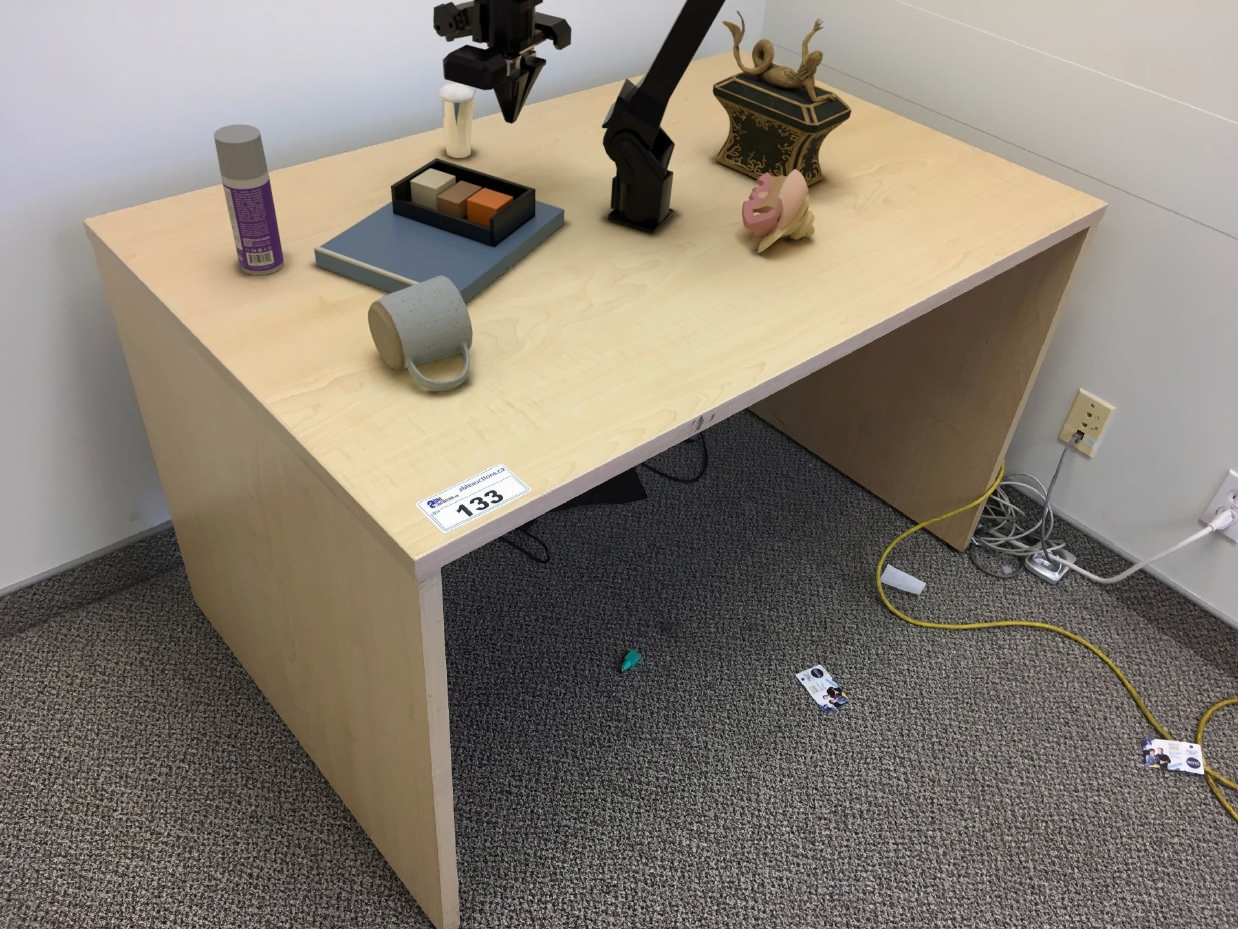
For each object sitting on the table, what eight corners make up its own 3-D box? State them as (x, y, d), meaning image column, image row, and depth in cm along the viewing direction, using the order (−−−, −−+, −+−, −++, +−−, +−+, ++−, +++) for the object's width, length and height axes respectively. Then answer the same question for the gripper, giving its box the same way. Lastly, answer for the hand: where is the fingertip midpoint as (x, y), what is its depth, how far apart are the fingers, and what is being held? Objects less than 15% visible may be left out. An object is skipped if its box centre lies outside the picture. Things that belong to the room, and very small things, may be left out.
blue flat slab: (564, 224, 122) (564, 206, 120) (451, 315, 106) (450, 296, 104) (441, 184, 127) (440, 167, 126) (316, 265, 111) (313, 247, 109)
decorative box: (839, 180, 136) (873, 31, 123) (798, 201, 131) (830, 48, 118) (724, 131, 146) (745, -12, 133) (682, 149, 140) (699, 1, 127)
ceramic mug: (366, 348, 100) (359, 282, 95) (439, 325, 104) (436, 261, 99) (416, 406, 94) (411, 340, 89) (491, 380, 98) (491, 314, 93)
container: (292, 259, 112) (270, 129, 102) (268, 279, 108) (243, 146, 98) (256, 249, 113) (231, 120, 103) (231, 269, 109) (202, 137, 99)
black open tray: (535, 216, 119) (535, 188, 116) (494, 247, 113) (494, 219, 110) (437, 184, 123) (436, 157, 121) (392, 213, 117) (390, 185, 115)
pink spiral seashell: (802, 222, 128) (848, 197, 119) (770, 284, 125) (815, 263, 116) (748, 178, 125) (791, 149, 116) (714, 241, 122) (755, 216, 113)
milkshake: (475, 163, 132) (473, 88, 126) (436, 157, 133) (432, 82, 126) (485, 149, 136) (484, 75, 129) (448, 143, 136) (444, 70, 130)
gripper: (493, -50, 118) (495, 82, 128) (397, -12, 105) (408, 131, 116) (575, -32, 115) (571, 103, 125) (486, 10, 102) (489, 156, 112)
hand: (510, 121), depth 119 cm, fingers closed
